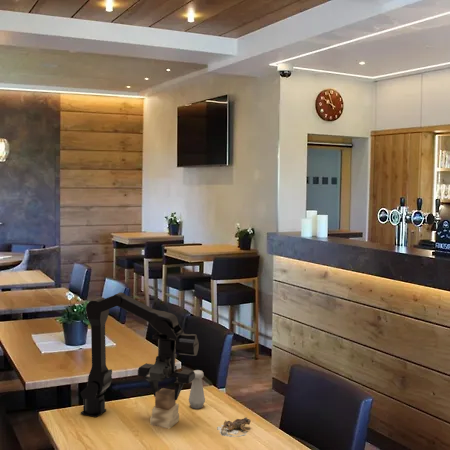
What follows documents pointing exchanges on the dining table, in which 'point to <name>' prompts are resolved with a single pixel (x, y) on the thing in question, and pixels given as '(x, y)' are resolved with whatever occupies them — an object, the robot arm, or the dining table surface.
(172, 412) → the beech slab upper
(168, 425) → the beech slab lower
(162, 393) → the walnut cube
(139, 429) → the dining table surface
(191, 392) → the salt shaker
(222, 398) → the dining table surface
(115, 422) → the dining table surface
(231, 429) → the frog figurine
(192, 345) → the robot arm
